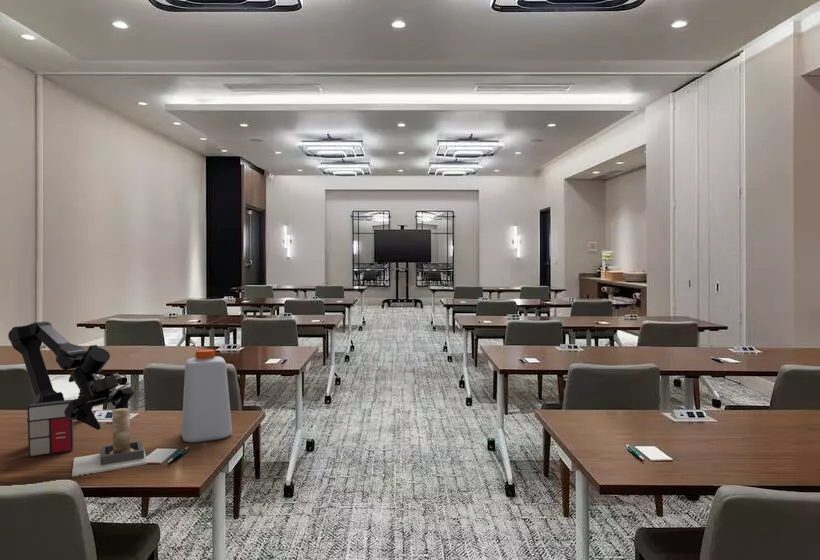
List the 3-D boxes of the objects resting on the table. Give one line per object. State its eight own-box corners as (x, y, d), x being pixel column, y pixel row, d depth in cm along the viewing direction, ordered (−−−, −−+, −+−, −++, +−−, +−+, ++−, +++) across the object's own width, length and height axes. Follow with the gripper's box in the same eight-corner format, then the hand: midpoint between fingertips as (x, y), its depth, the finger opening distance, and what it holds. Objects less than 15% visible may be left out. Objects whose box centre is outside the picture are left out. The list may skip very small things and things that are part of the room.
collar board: (71, 477, 142) (71, 466, 142) (74, 459, 155) (73, 450, 155) (147, 463, 151) (147, 454, 151) (143, 448, 164) (143, 439, 164)
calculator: (28, 458, 157) (26, 407, 157) (30, 453, 161) (29, 403, 161) (72, 451, 162) (71, 402, 162) (73, 447, 166) (72, 399, 166)
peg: (105, 460, 153) (104, 413, 152) (114, 453, 159) (113, 407, 159) (129, 459, 154) (128, 412, 153) (137, 451, 160) (136, 406, 160)
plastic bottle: (182, 445, 167) (180, 355, 167) (181, 432, 181) (179, 349, 180) (233, 438, 173) (231, 351, 173) (228, 426, 187) (227, 345, 187)
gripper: (70, 371, 151) (96, 415, 146) (129, 361, 168) (155, 400, 163) (52, 396, 154) (78, 440, 150) (112, 383, 171) (137, 422, 167)
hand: (114, 424), depth 157 cm, fingers open, 9 cm apart
